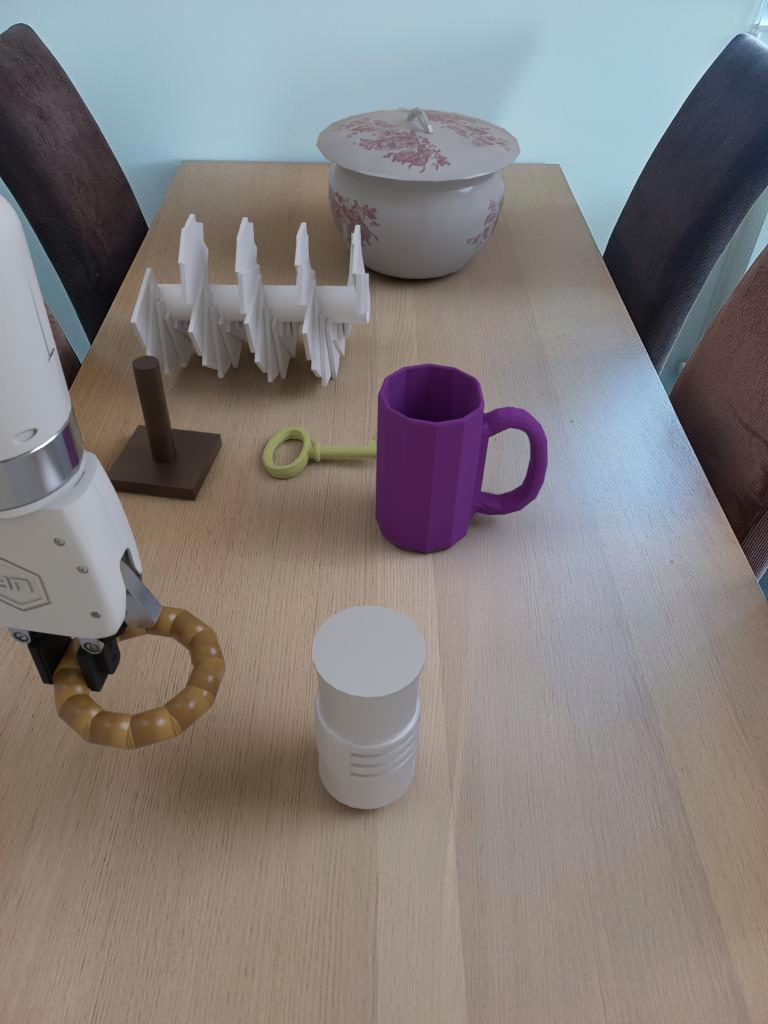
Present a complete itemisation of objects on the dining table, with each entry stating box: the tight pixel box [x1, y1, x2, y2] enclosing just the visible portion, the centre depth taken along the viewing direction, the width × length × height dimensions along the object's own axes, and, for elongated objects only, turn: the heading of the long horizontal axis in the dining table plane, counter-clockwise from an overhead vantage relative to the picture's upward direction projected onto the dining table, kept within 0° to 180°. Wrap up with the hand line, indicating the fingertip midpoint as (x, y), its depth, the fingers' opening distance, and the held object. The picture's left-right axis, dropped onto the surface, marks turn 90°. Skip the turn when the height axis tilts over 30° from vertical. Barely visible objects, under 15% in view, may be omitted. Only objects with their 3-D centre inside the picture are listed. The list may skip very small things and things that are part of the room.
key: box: [262, 426, 377, 479], centre depth 84 cm, size 7×12×2 cm, turn 102°
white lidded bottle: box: [311, 604, 427, 810], centre depth 52 cm, size 7×7×15 cm
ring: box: [53, 605, 227, 751], centre depth 51 cm, size 10×10×2 cm
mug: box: [374, 362, 549, 554], centre depth 72 cm, size 9×16×15 cm, turn 92°
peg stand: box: [106, 355, 223, 501], centre depth 78 cm, size 9×9×12 cm
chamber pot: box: [316, 107, 522, 280], centre depth 112 cm, size 28×28×21 cm
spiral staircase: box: [130, 213, 371, 387], centre depth 91 cm, size 18×18×25 cm
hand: (81, 668), depth 52 cm, fingers closed on ring, 2 cm apart
